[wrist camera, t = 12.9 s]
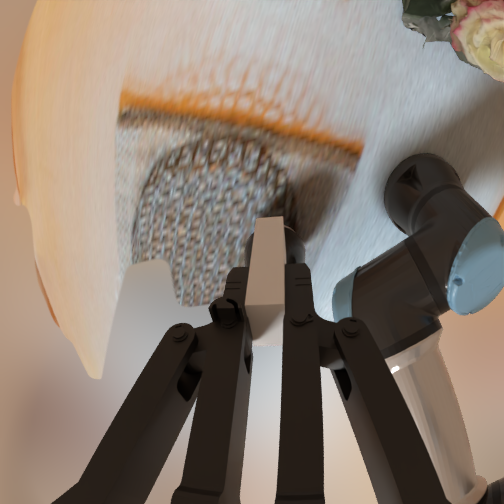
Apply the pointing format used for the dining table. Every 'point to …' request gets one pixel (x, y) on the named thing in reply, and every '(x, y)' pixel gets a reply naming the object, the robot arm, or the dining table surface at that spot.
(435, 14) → the rose bouquet
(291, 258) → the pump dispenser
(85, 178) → the dining table surface
